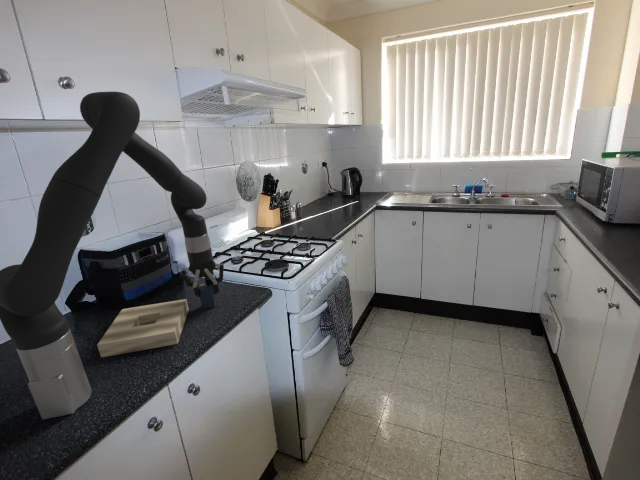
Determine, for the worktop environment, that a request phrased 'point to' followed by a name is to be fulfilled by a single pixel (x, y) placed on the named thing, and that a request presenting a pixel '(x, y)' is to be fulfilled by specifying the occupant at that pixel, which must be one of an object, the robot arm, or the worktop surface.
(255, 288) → the worktop surface
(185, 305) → the socket dock
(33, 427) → the worktop surface
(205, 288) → the vaping device
